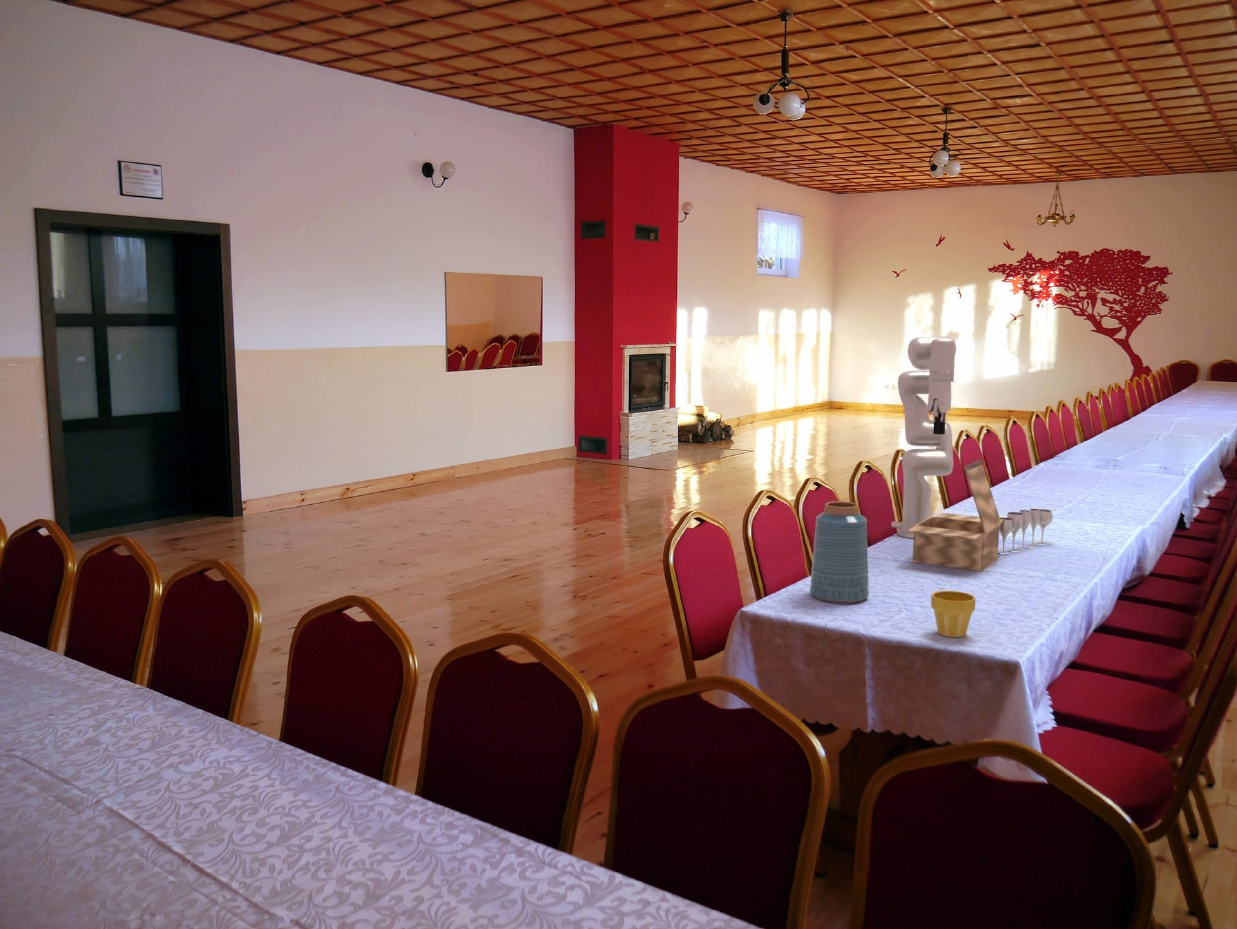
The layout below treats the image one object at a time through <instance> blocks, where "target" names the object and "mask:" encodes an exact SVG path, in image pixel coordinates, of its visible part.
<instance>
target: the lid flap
mask: <svg viewBox="0 0 1237 929" xmlns="http://www.w3.org/2000/svg"><path fill="white" fill-rule="evenodd" d="M963 470H964V473H965V475H966V479H967V482H968V485H969V488H970V491H971V496H972V497H973V501H974V503H975V507H976V510H977V513H978V517H980V520H981V523H982V526H983V529H984V533H985V534H986V533H988V532H989V531H991V530H992V529H994V528H995V527H997V526H998V525H1000V524H1001V521H1000V518H1001V517H1000V514H999V511H998V508H997V505H996V502H995V500H994V496H993V494H992V493H993V492H992V490H991V486H990V484H989V481H988V477H987V474H986V470H985V468H984V464H983V461H982V459H978V460H977V461H973V462H971V463H969V464H967V465H964V466H963Z"/></svg>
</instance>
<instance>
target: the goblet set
mask: <svg viewBox="0 0 1237 929" xmlns="http://www.w3.org/2000/svg"><path fill="white" fill-rule="evenodd" d="M1000 519H1004V521H1003V522H1002V523H1001V524H1000V526H999V535H1001V538H1002V551H998V553H1007V551H1005V543H1006V538H1007V536H1008V535H1009V534H1010V533H1011V534H1012V548H1011V549H1010V548H1009V549H1010V550H1008V551H1020V549H1028V548H1032V547H1037V546H1038V545H1036V544H1045V545H1047V544H1048V543H1046V542H1044V532H1045V529H1046V528H1047V526H1049V525H1050V524H1052V522H1053V519H1054V518H1053V513H1052V510H1050V509H1043V508H1042V509H1040V508H1030V509H1029V510H1028V509H1020V510H1019V512H1018V511H1010V512H1007V515H1006V517H1000ZM1029 525H1030V527H1031V531H1032V537H1031V538H1032V539H1031V540H1032V541H1031V544H1027V545H1026V547H1024V544H1025V535H1026V532H1027V529H1028V528H1029ZM1037 526H1039V527H1040V530H1041V540H1040V542H1035V543H1036V544H1034V538H1035V531H1036V528H1037ZM1020 529H1021V531H1022V546H1020V548H1019V549H1015V541H1016V540H1015V539H1016V535H1017V533H1018V532H1019V531H1020ZM1027 546H1030V547H1027ZM1037 548H1038V547H1037ZM1014 549H1015V550H1014Z"/></svg>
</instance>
